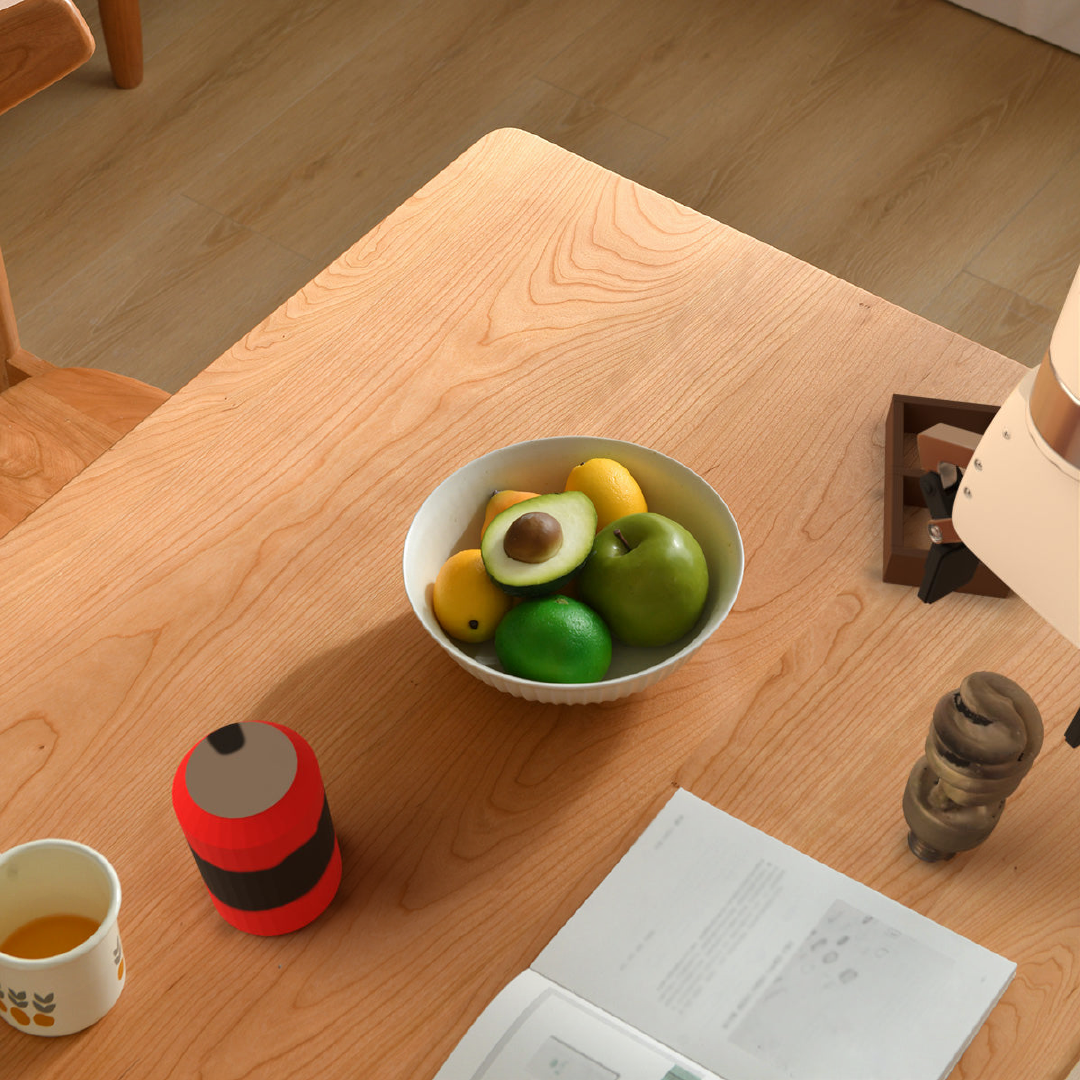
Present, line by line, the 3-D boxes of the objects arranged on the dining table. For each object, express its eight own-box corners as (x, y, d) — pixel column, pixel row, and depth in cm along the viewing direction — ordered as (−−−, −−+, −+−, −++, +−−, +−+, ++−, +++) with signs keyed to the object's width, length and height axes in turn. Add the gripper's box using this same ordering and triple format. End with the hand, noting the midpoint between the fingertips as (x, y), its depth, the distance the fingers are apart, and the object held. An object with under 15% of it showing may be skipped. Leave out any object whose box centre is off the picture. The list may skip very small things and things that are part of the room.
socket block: (1006, 598, 91) (1018, 570, 89) (882, 582, 92) (890, 554, 90) (996, 435, 101) (1007, 406, 99) (885, 422, 102) (893, 393, 100)
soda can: (309, 796, 81) (279, 683, 72) (365, 897, 77) (341, 791, 68) (190, 856, 79) (144, 746, 70) (241, 963, 75) (199, 862, 65)
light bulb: (910, 789, 82) (970, 641, 70) (995, 836, 80) (1071, 692, 68) (867, 858, 79) (923, 717, 67) (955, 910, 77) (1028, 773, 65)
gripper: (1394, 506, 48) (1211, 752, 62) (1039, 248, 58) (946, 510, 71) (1256, 596, 46) (1095, 833, 59) (907, 311, 55) (836, 570, 68)
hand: (1014, 656), depth 65 cm, fingers open, 9 cm apart
